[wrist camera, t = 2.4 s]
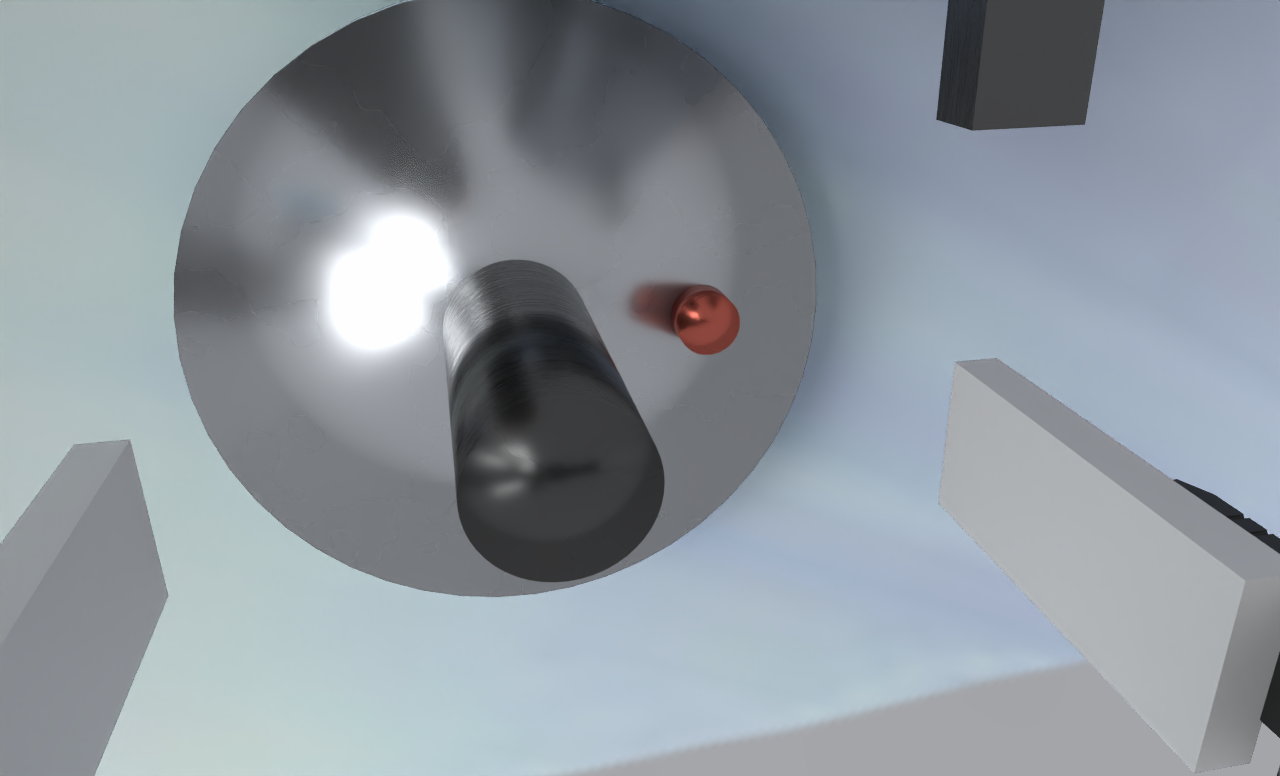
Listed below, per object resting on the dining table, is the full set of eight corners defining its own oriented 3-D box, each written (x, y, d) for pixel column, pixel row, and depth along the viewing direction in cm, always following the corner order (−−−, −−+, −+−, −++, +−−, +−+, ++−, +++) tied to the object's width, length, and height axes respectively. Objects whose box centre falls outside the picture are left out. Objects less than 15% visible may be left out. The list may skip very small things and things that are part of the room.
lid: (254, 574, 26) (170, 905, 17) (136, -7, 20) (-87, 20, 11) (770, 510, 28) (937, 766, 19) (792, -22, 23) (1043, -10, 14)
